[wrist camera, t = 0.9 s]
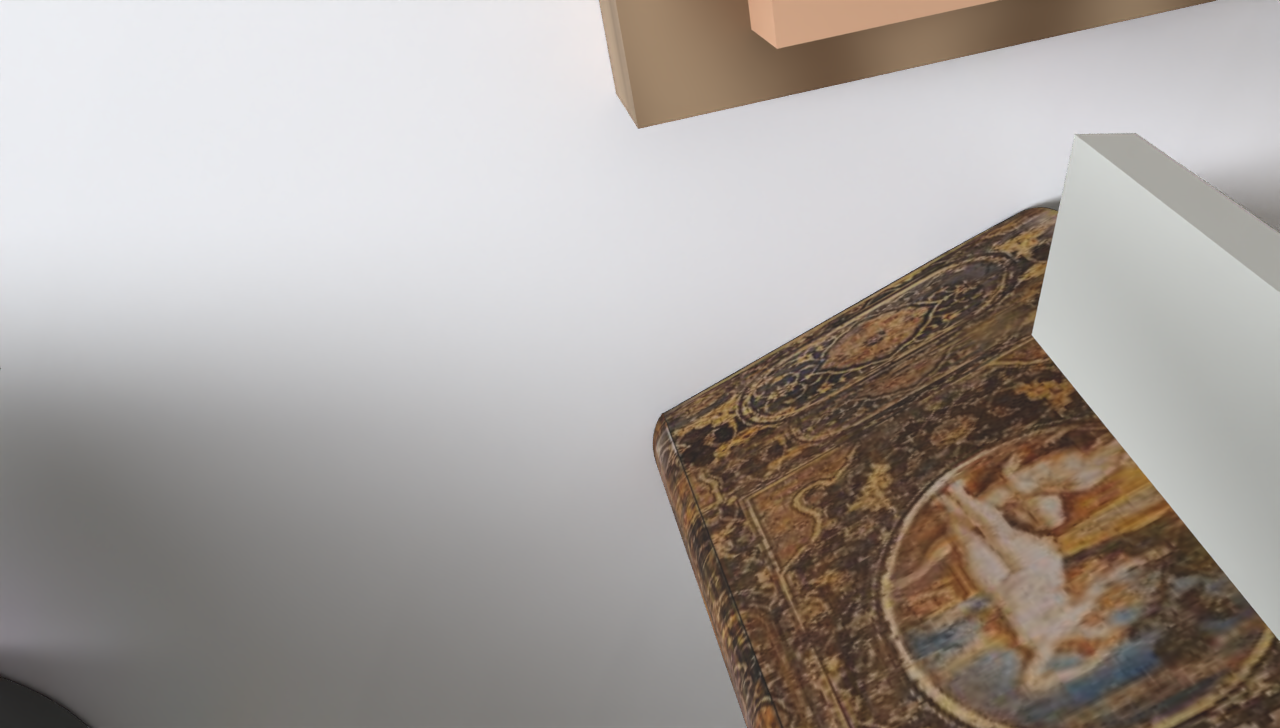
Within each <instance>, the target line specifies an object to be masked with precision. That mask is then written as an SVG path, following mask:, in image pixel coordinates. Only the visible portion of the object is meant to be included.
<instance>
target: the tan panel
mask: <svg viewBox="0 0 1280 728" xmlns="http://www.w3.org/2000/svg"><path fill="white" fill-rule="evenodd" d="M1212 1H1216V0H998V1H994V2H989V3H985V4H980V5H975V6H971V7H966V8H962V9H957V10H953V11H948V12H943V13H939V14H934V15H930V16H925V17H921V18H916V19H911V20H907V21H902V22H898V23H893V24H889V25H884V26H879V27H875V28H870V29H866V30H861V31H857V32H852V33H847V34H843V35H838V36H834V37H829V38H825V39H820V40H815V41H811V42H806V43H802V44H797V45H793V46H788V47H783V48H779V49H777V48H775V47H774V46H773V45H771V44H770V43H769V42H767V41H766V40H765V39H763V38H762V37H761V36H759V35H758V34H757V33H755V32H754V31H753V30H751V21H750V13H749V5H748V0H599V2H600V8H601V13H602V19H603V24H604V30H605V35H606V40H607V46H608V51H609V57H610V62H611V68H612V73H613V78H614V84H615V89H616V94H617V95H618V97H619V99H620V100H621V102H622V104H623V105H624V107H625V108H626V110H627V112H628V113H629V115H630V116H631V118H632V120H633V121H634V123H635V124H636V126H637V128H638V129H639V128H644V127H648V126H653V125H657V124H662V123H666V122H671V121H675V120H680V119H684V118H689V117H693V116H698V115H702V114H707V113H711V112H716V111H720V110H725V109H729V108H734V107H738V106H743V105H747V104H752V103H756V102H761V101H765V100H770V99H774V98H779V97H783V96H788V95H792V94H797V93H802V92H806V91H811V90H815V89H820V88H824V87H829V86H833V85H838V84H842V83H847V82H851V81H856V80H860V79H865V78H869V77H874V76H878V75H883V74H887V73H892V72H896V71H901V70H905V69H910V68H914V67H919V66H923V65H928V64H932V63H937V62H941V61H946V60H950V59H955V58H959V57H964V56H968V55H973V54H977V53H982V52H986V51H991V50H995V49H1000V48H1004V47H1009V46H1013V45H1018V44H1022V43H1027V42H1031V41H1036V40H1040V39H1045V38H1049V37H1054V36H1058V35H1063V34H1067V33H1072V32H1076V31H1081V30H1085V29H1090V28H1094V27H1099V26H1103V25H1108V24H1113V23H1117V22H1122V21H1126V20H1131V19H1135V18H1140V17H1144V16H1149V15H1153V14H1158V13H1162V12H1167V11H1171V10H1176V9H1180V8H1185V7H1189V6H1194V5H1198V4H1203V3H1207V2H1212Z"/></svg>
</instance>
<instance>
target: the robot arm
mask: <svg viewBox="0 0 1280 728" xmlns="http://www.w3.org/2000/svg"><path fill="white" fill-rule="evenodd" d="M1032 336H1033V337H1034V338H1035V340H1036V341H1037V342H1038V343H1039V345H1040V346H1041V347H1042V348H1043V350H1044V351H1045V352H1046V353H1047V355H1048V356H1049V357H1050V358H1051V359H1052V361H1053V362H1054V363H1055V364H1056V366H1057V367H1058V368H1059V369H1060V371H1061V372H1062V373H1063V374H1064V375H1065V377H1066V378H1067V379H1068V380H1069V382H1070V383H1071V384H1072V385H1073V387H1074V388H1075V389H1076V390H1077V392H1078V393H1079V394H1080V395H1081V396H1082V398H1083V399H1084V400H1085V401H1086V403H1087V404H1088V405H1089V406H1090V408H1091V409H1092V410H1093V411H1094V413H1095V414H1096V415H1097V416H1098V417H1099V419H1100V420H1101V421H1102V422H1103V424H1104V425H1105V426H1106V427H1107V429H1108V430H1109V431H1110V432H1111V433H1112V435H1113V436H1114V437H1115V438H1116V440H1117V441H1118V442H1119V443H1120V445H1121V446H1122V447H1123V448H1124V450H1125V451H1126V452H1127V453H1128V454H1129V456H1130V457H1131V458H1132V459H1133V461H1134V462H1135V463H1136V464H1137V466H1138V467H1139V468H1140V469H1141V470H1142V472H1143V473H1144V474H1145V475H1146V477H1147V478H1148V479H1149V480H1150V482H1151V483H1152V484H1153V485H1154V487H1155V488H1156V489H1157V490H1158V491H1159V493H1160V494H1161V495H1162V496H1163V498H1164V499H1165V500H1166V501H1167V503H1168V504H1169V505H1170V506H1171V508H1172V509H1173V510H1174V511H1175V512H1176V514H1177V515H1178V516H1179V517H1180V519H1181V520H1182V521H1183V522H1184V524H1185V525H1186V526H1187V527H1188V528H1189V530H1190V531H1191V532H1192V533H1193V535H1194V536H1195V537H1196V538H1197V540H1198V541H1199V542H1200V543H1201V545H1202V546H1203V547H1204V548H1205V549H1206V551H1207V552H1208V553H1209V554H1210V556H1211V557H1212V558H1213V559H1214V561H1215V562H1216V563H1217V564H1218V566H1219V567H1220V568H1221V569H1222V570H1223V572H1224V573H1225V574H1226V575H1227V577H1228V578H1229V579H1230V580H1231V582H1232V583H1233V584H1234V585H1235V586H1236V588H1237V589H1238V590H1239V591H1240V593H1241V594H1242V595H1243V596H1244V598H1245V599H1246V600H1247V601H1248V603H1249V604H1250V605H1251V606H1252V607H1253V609H1254V610H1255V611H1256V612H1257V614H1258V615H1259V616H1260V617H1261V619H1262V620H1263V621H1264V622H1265V623H1266V625H1267V626H1268V627H1269V628H1270V630H1271V631H1272V632H1273V633H1274V635H1275V636H1276V637H1277V638H1278V640H1279V641H1280V233H1279V232H1277V231H1276V230H1274V229H1273V228H1272V227H1270V226H1269V225H1267V224H1266V223H1264V222H1263V221H1261V220H1260V219H1259V218H1257V217H1256V216H1254V215H1253V214H1251V213H1250V212H1248V211H1247V210H1246V209H1244V208H1243V207H1241V206H1240V205H1238V204H1237V203H1236V202H1234V201H1233V200H1231V199H1230V198H1228V197H1227V196H1225V195H1224V194H1223V193H1221V192H1220V191H1218V190H1217V189H1215V188H1214V187H1212V186H1211V185H1210V184H1208V183H1207V182H1205V181H1204V180H1202V179H1201V178H1200V177H1198V176H1197V175H1195V174H1194V173H1192V172H1191V171H1189V170H1188V169H1187V168H1185V167H1184V166H1182V165H1181V164H1179V163H1178V162H1176V161H1175V160H1174V159H1172V158H1171V157H1169V156H1168V155H1166V154H1165V153H1164V152H1162V151H1161V150H1159V149H1158V148H1156V147H1155V146H1153V145H1152V144H1151V143H1149V142H1148V141H1146V140H1145V139H1143V138H1142V137H1140V136H1139V135H1138V134H1136V133H1122V134H1075V136H1074V141H1073V145H1072V150H1071V155H1070V159H1069V164H1068V169H1067V173H1066V178H1065V182H1064V187H1063V192H1062V196H1061V201H1060V206H1059V210H1058V215H1057V220H1056V224H1055V229H1054V234H1053V238H1052V243H1051V247H1050V252H1049V257H1048V261H1047V266H1046V271H1045V275H1044V280H1043V285H1042V289H1041V294H1040V299H1039V303H1038V308H1037V312H1036V317H1035V322H1034V326H1033V331H1032ZM0 369H1V368H0ZM0 728H89V727H88V726H87V725H85V724H84V723H83V722H82V721H81V720H79V719H78V718H77V717H76V716H74V715H73V714H72V713H70V712H69V711H67V710H66V709H64V708H63V707H61V706H60V705H58V704H57V703H55V702H53V701H52V700H50V699H48V698H46V697H44V696H43V695H41V694H39V693H37V692H35V691H33V690H30V689H28V688H26V687H24V686H22V685H19V684H17V683H14V682H12V681H9V680H6V679H4V678H1V677H0Z"/></svg>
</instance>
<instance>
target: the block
mask: <svg viewBox="0 0 1280 728" xmlns="http://www.w3.org/2000/svg"><path fill="white" fill-rule="evenodd" d="M994 1H998V0H748V5H749V13H750V21H751V30H753V31H754V32H755V33H757V34H758V35H759V36H761V37H762V38H763V39H765V40H766V41H767V42H769V43H770V44H771V45H773V46H774V47H775V48H777V49H779V48H783V47H788V46H793V45H797V44H802V43H806V42H811V41H815V40H820V39H825V38H829V37H834V36H838V35H843V34H847V33H852V32H857V31H861V30H866V29H870V28H875V27H879V26H884V25H889V24H893V23H898V22H902V21H907V20H911V19H916V18H921V17H925V16H930V15H934V14H939V13H943V12H948V11H953V10H957V9H962V8H966V7H971V6H975V5H980V4H985V3H989V2H994Z"/></svg>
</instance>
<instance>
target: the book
mask: <svg viewBox="0 0 1280 728" xmlns="http://www.w3.org/2000/svg"><path fill="white" fill-rule="evenodd" d="M1057 215H1058V211H1056V210H1053V209H1050V208H1043V207H1038V208H1031V209H1027V210H1024V211H1022V212H1020V213H1018V214H1016V215H1014V216H1012V217H1010V218H1008V219H1007V220H1005V221H1003V222H1001V223H999V224H997V225H995V226H994V227H992V228H990V229H988V230H986V231H984V232H982V233H981V234H979V235H977V236H975V237H973V238H971V239H969V240H968V241H966V242H964V243H962V244H960V245H958V246H956V247H955V248H953V249H951V250H949V251H947V252H945V253H944V254H942V255H940V256H938V257H937V258H935V259H933V260H931V261H930V262H928V263H926V264H924V265H923V266H921V267H919V268H917V269H916V270H914V271H912V272H910V273H909V274H907V275H905V276H903V277H902V278H900V279H898V280H896V281H895V282H893V283H891V284H889V285H888V286H886V287H884V288H882V289H881V290H879V291H877V292H875V293H874V294H872V295H870V296H868V297H867V298H865V299H863V300H861V301H860V302H858V303H856V304H854V305H853V306H851V307H849V308H847V309H846V310H844V311H842V312H840V313H839V314H837V315H835V316H833V317H832V318H830V319H828V320H826V321H825V322H823V323H821V324H819V325H817V326H816V327H814V328H812V329H810V330H809V331H807V332H805V333H803V334H802V335H800V336H798V337H796V338H795V339H793V340H791V341H789V342H788V343H786V344H784V345H782V346H781V347H779V348H777V349H775V350H774V351H772V352H770V353H768V354H767V355H765V356H763V357H761V358H760V359H758V360H756V361H754V362H753V363H751V364H749V365H747V366H746V367H744V368H742V369H740V370H739V371H737V372H735V373H733V374H732V375H730V376H728V377H726V378H725V379H723V380H721V381H719V382H718V383H716V384H714V385H712V386H711V387H709V388H707V389H705V390H704V391H702V392H700V393H698V394H697V395H695V396H693V397H691V398H690V399H688V400H686V401H684V402H683V403H681V404H679V405H677V406H676V407H674V408H672V409H670V410H669V411H667V412H665V413H662V415H661V416H660V418H659V420H658V422H657V424H656V427H655V431H654V436H653V451H654V457H655V460H656V464H657V467H658V470H659V472H660V475H661V478H662V481H663V484H664V487H665V490H666V493H667V496H668V499H669V502H670V505H671V507H672V510H673V513H674V516H675V519H676V522H677V525H678V528H679V531H680V534H681V537H682V539H683V542H684V545H685V548H686V551H687V554H688V557H689V560H690V563H691V566H692V569H693V571H694V574H695V577H696V580H697V583H698V586H699V589H700V592H701V595H702V598H703V601H704V604H705V606H706V609H707V612H708V615H709V618H710V621H711V624H712V627H713V630H714V633H715V636H716V638H717V641H718V644H719V647H720V650H721V653H722V656H723V659H724V662H725V665H726V668H727V670H728V673H729V676H730V679H731V682H732V685H733V688H734V691H735V694H736V697H737V700H738V703H739V705H740V708H741V711H742V714H743V717H744V720H745V723H746V726H747V728H1280V641H1279V640H1278V638H1277V637H1276V636H1275V635H1274V633H1273V632H1272V631H1271V630H1270V628H1269V627H1268V626H1267V625H1266V623H1265V622H1264V621H1263V620H1262V619H1261V617H1260V616H1259V615H1258V614H1257V612H1256V611H1255V610H1254V609H1253V607H1252V606H1251V605H1250V604H1249V603H1248V601H1247V600H1246V599H1245V598H1244V596H1243V595H1242V594H1241V593H1240V591H1239V590H1238V589H1237V588H1236V586H1235V585H1234V584H1233V583H1232V582H1231V580H1230V579H1229V578H1228V577H1227V575H1226V574H1225V573H1224V572H1223V570H1222V569H1221V568H1220V567H1219V566H1218V564H1217V563H1216V562H1215V561H1214V559H1213V558H1212V557H1211V556H1210V554H1209V553H1208V552H1207V551H1206V549H1205V548H1204V547H1203V546H1202V545H1201V543H1200V542H1199V541H1198V540H1197V538H1196V537H1195V536H1194V535H1193V533H1192V532H1191V531H1190V530H1189V528H1188V527H1187V526H1186V525H1185V524H1184V522H1183V521H1182V520H1181V519H1180V517H1179V516H1178V515H1177V514H1176V512H1175V511H1174V510H1173V509H1172V508H1171V506H1170V505H1169V504H1168V503H1167V501H1166V500H1165V499H1164V498H1163V496H1162V495H1161V494H1160V493H1159V491H1158V490H1157V489H1156V488H1155V487H1154V485H1153V484H1152V483H1151V482H1150V480H1149V479H1148V478H1147V477H1146V475H1145V474H1144V473H1143V472H1142V470H1141V469H1140V468H1139V467H1138V466H1137V464H1136V463H1135V462H1134V461H1133V459H1132V458H1131V457H1130V456H1129V454H1128V453H1127V452H1126V451H1125V450H1124V448H1123V447H1122V446H1121V445H1120V443H1119V442H1118V441H1117V440H1116V438H1115V437H1114V436H1113V435H1112V433H1111V432H1110V431H1109V430H1108V429H1107V427H1106V426H1105V425H1104V424H1103V422H1102V421H1101V420H1100V419H1099V417H1098V416H1097V415H1096V414H1095V413H1094V411H1093V410H1092V409H1091V408H1090V406H1089V405H1088V404H1087V403H1086V401H1085V400H1084V399H1083V398H1082V396H1081V395H1080V394H1079V393H1078V392H1077V390H1076V389H1075V388H1074V387H1073V385H1072V384H1071V383H1070V382H1069V380H1068V379H1067V378H1066V377H1065V375H1064V374H1063V373H1062V372H1061V371H1060V369H1059V368H1058V367H1057V366H1056V364H1055V363H1054V362H1053V361H1052V359H1051V358H1050V357H1049V356H1048V355H1047V353H1046V352H1045V351H1044V350H1043V348H1042V347H1041V346H1040V345H1039V343H1038V342H1037V341H1036V340H1035V338H1034V337H1033V336H1032V331H1033V326H1034V322H1035V317H1036V312H1037V308H1038V303H1039V299H1040V294H1041V289H1042V285H1043V280H1044V275H1045V271H1046V266H1047V261H1048V257H1049V252H1050V247H1051V243H1052V238H1053V234H1054V229H1055V224H1056V220H1057Z"/></svg>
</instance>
